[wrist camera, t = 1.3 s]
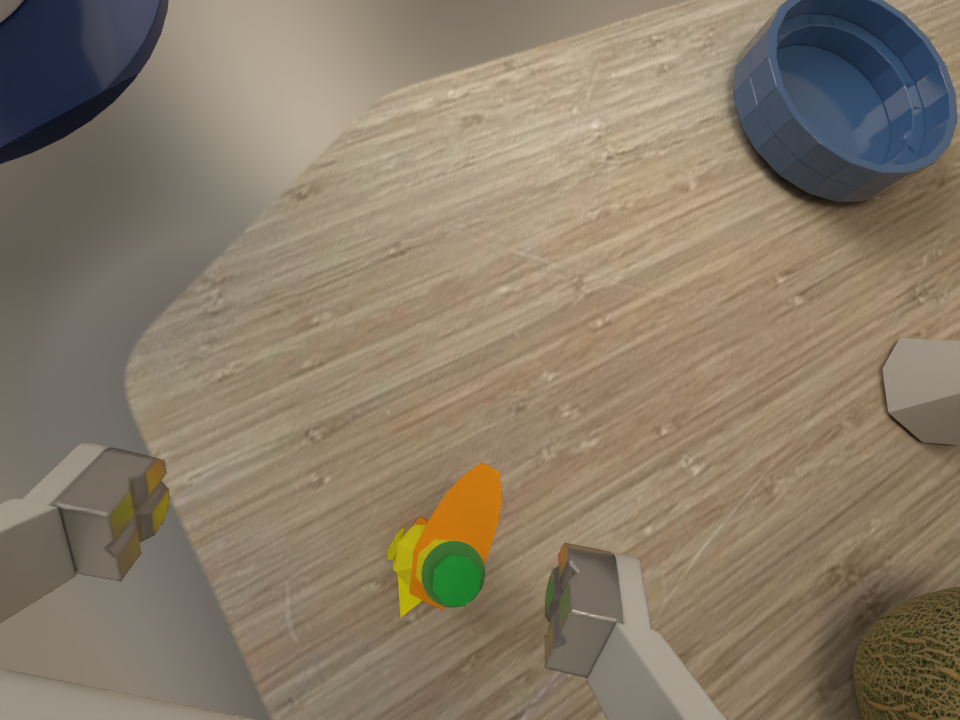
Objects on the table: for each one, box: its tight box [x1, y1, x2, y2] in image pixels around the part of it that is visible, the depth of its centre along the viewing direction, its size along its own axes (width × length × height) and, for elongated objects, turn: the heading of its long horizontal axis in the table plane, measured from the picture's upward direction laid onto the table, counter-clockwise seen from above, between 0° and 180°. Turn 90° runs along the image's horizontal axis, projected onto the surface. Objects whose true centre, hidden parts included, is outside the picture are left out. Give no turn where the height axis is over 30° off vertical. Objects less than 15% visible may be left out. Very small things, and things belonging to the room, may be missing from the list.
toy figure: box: [386, 462, 502, 617], centre depth 25 cm, size 7×4×12 cm, turn 154°
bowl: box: [733, 0, 957, 202], centre depth 41 cm, size 14×14×4 cm
